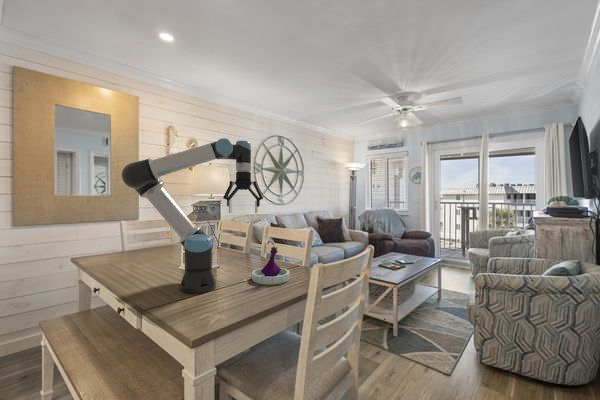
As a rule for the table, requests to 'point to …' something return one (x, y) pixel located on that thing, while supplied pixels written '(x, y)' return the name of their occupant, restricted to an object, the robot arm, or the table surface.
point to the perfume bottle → (271, 264)
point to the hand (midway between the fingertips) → (243, 213)
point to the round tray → (261, 279)
